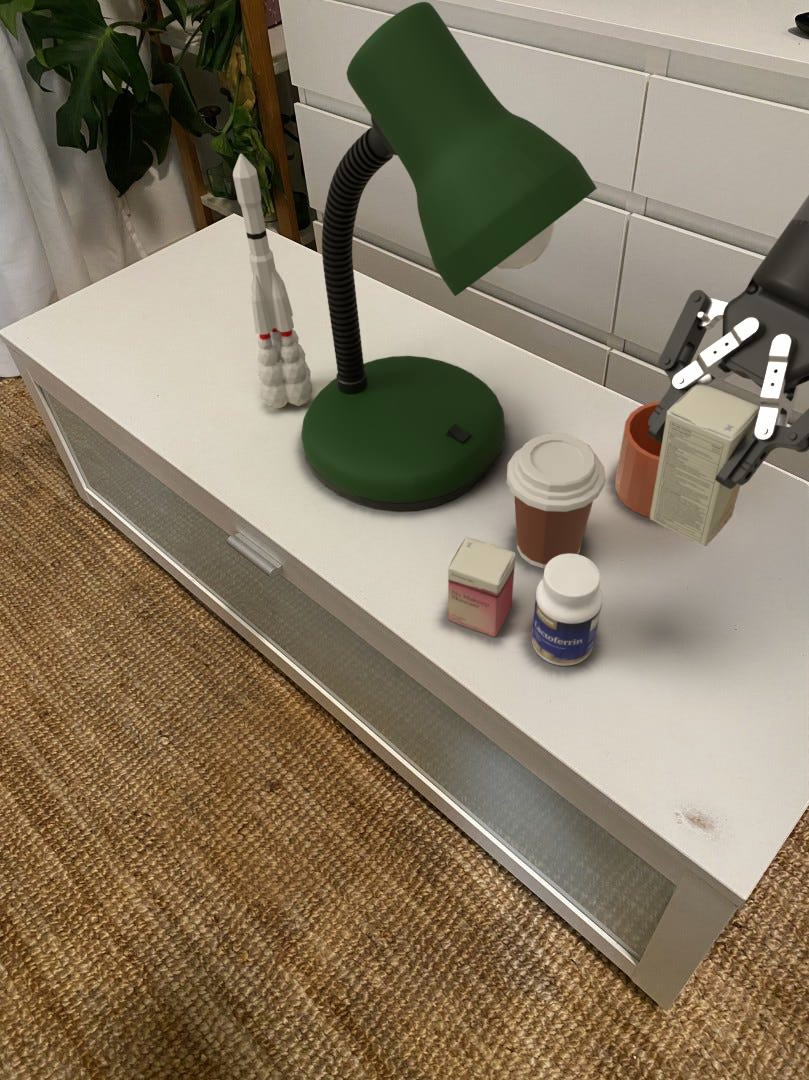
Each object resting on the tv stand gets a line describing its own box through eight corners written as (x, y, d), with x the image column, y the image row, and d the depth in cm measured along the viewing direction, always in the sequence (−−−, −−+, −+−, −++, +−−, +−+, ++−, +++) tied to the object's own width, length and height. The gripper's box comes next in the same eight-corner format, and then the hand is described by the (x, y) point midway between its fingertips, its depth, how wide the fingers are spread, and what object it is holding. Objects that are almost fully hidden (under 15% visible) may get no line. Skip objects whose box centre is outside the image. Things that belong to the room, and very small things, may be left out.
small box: (447, 621, 82) (445, 567, 76) (465, 588, 84) (465, 534, 78) (496, 639, 80) (498, 585, 74) (513, 605, 82) (517, 551, 76)
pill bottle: (523, 657, 78) (528, 589, 71) (540, 610, 82) (547, 540, 74) (585, 675, 77) (597, 608, 69) (600, 627, 80) (613, 557, 73)
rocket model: (330, 392, 106) (293, 148, 84) (290, 425, 102) (240, 178, 80) (286, 372, 109) (240, 132, 87) (246, 403, 105) (186, 160, 83)
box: (733, 516, 67) (767, 407, 59) (704, 549, 65) (735, 442, 57) (673, 486, 69) (698, 378, 61) (644, 517, 68) (665, 410, 59)
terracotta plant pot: (717, 475, 93) (734, 417, 87) (688, 531, 87) (704, 474, 81) (634, 448, 96) (644, 391, 90) (601, 500, 91) (610, 444, 85)
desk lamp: (603, 451, 96) (674, -7, 63) (486, 577, 85) (498, 101, 51) (390, 357, 110) (356, -59, 76) (266, 455, 99) (163, 17, 65)
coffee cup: (562, 594, 83) (573, 507, 74) (485, 551, 87) (487, 464, 78) (611, 537, 87) (627, 450, 78) (536, 500, 92) (543, 412, 83)
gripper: (735, 184, 57) (592, 400, 62) (939, 269, 49) (755, 510, 54) (768, 228, 63) (634, 423, 68) (955, 310, 55) (788, 525, 60)
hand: (689, 460), depth 61 cm, fingers closed on box, 5 cm apart
